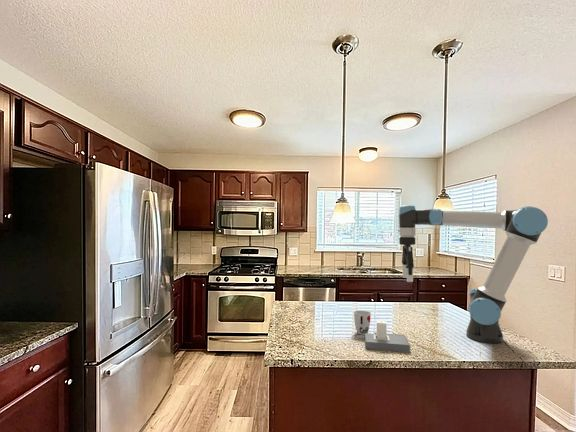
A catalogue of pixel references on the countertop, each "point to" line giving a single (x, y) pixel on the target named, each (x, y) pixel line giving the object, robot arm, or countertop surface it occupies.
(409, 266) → the robot arm
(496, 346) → the countertop surface
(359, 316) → the cup
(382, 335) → the block
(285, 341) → the countertop surface
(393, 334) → the phone
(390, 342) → the plate
